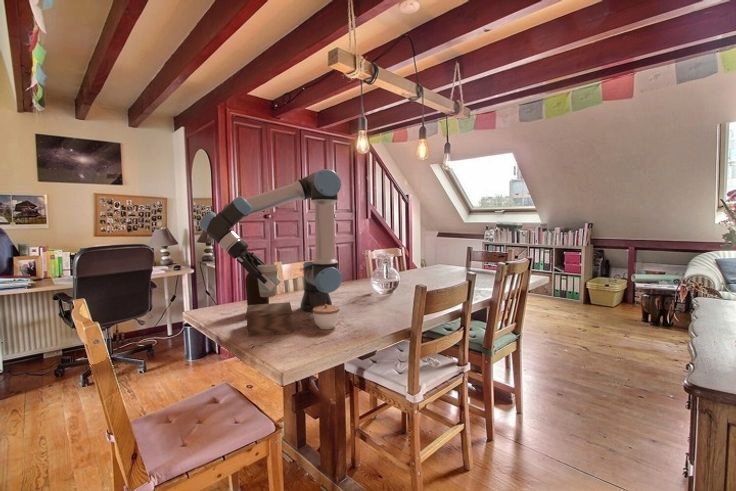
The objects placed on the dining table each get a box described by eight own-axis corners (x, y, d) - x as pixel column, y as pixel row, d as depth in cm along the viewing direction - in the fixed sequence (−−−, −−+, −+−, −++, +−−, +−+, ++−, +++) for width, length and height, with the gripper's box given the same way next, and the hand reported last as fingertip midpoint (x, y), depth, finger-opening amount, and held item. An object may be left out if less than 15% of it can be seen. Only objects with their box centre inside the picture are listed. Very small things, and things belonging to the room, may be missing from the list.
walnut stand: (290, 320, 153) (289, 302, 152) (292, 332, 137) (292, 312, 136) (248, 324, 148) (247, 305, 148) (246, 337, 132) (245, 316, 131)
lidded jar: (307, 327, 143) (306, 304, 142) (326, 321, 151) (326, 299, 150) (326, 333, 136) (325, 309, 135) (345, 326, 144) (345, 303, 143)
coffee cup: (253, 298, 137) (252, 267, 136) (260, 293, 146) (260, 264, 145) (275, 298, 137) (274, 267, 136) (281, 293, 145) (280, 264, 144)
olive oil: (253, 317, 159) (251, 261, 157) (242, 312, 166) (240, 259, 164) (274, 312, 166) (273, 259, 164) (262, 308, 174) (260, 257, 172)
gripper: (237, 249, 151) (276, 287, 152) (216, 255, 129) (261, 298, 131) (250, 237, 150) (288, 274, 151) (230, 240, 129) (275, 284, 130)
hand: (275, 285), depth 141 cm, fingers closed on coffee cup, 8 cm apart
